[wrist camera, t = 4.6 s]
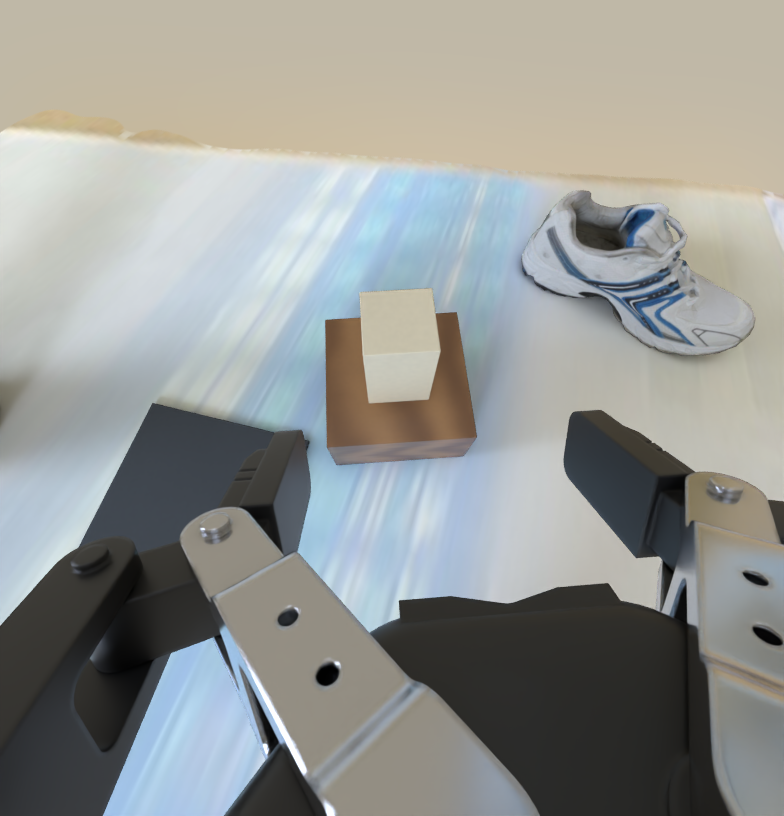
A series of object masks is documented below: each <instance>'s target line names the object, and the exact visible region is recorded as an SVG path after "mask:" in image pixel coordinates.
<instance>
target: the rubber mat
mask: <svg viewBox="0 0 784 816" xmlns="http://www.w3.org/2000/svg"><path fill="white" fill-rule="evenodd" d="M273 435H274V432H270V431H266V430H262V429H258V428H254V427H249V426H245V425H241V424H237V423H233V422H229V421H225V420H221V419H216V418H212V417H208V416H204V415H200V414H196V413H192V412H188V411H183V410H179V409H175V408H171V407H167V406H163V405H159V404H155V403H152V405H151V407H150V409H149V411H148V413H147V415H146V417H145V419H144V421H143V423H142V425H141V427H140V429H139V431H138V433H137V435H136V437H135V439H134V441H133V442H132V444H131V446H130V448H129V450H128V452H127V454H126V456H125V458H124V460H123V462H122V464H121V466H120V468H119V470H118V472H117V474H116V476H115V478H114V479H113V481H112V483H111V485H110V487H109V489H108V491H107V493H106V495H105V497H104V499H103V501H102V503H101V505H100V507H99V509H98V511H97V513H96V515H95V517H94V518H93V520H92V522H91V524H90V526H89V528H88V530H87V532H86V534H85V536H84V538H83V540H82V542H81V544H80V546H79V547H81V546H83V545H85V544H87V543H90V542H92V541H95V540H98V539H102V538H106V537H111V536H124V537H128V538H130V539H132V541H133V542H134V544H135V546H136V549H137V551H138V553H139V552H142V551H146V550H149V549H153V548H156V547H160V546H163V545H167V544H170V543H173V542H177V541H179V540H180V535H181V532H182V531H183V529H184V528H185V527H186V526H187V525H188V524H189V523H190V522H191V521H192V520H194V519H195V518H197V517H198V516H200V515H202V514H204V513H206V512H208V511H211V510H214V509H217V507H218V506H219V504H220V502H221V500H222V499H223V497H224V495H225V493H226V492H227V490H228V488H229V486H230V485H231V483H232V481H234V478H235V476H236V474H237V472H239V469H240V467H241V465H242V463H243V462H244V460H245V459H246V458H247V457H248V456H250V455H251V454H252V453H253V452H255V451H256V450H257V449H267V447H268V445H269V443H270V441H271V439H272V437H273ZM308 444H309V441H307V440H305V447H306V450H307V447H308Z"/></svg>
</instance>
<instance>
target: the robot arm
mask: <svg viewBox="0 0 784 816" xmlns="http://www.w3.org/2000/svg"><path fill="white" fill-rule="evenodd" d="M564 468H565V472H566V474H567V476H568V478H569V479H570V480H571V482H572V483H573V484H574V485H575V486H576V488H577V489H578V490H579V491H580V492H581V493H582V495H583V496H584V497H585V498H586V499H587V501H588V502H589V503H590V504H591V505H592V506H593V508H594V509H595V510H596V511H597V512H598V514H599V515H600V516H601V517H602V518H603V519H604V521H605V522H606V523H607V524H608V525H609V527H610V528H611V529H612V530H613V531H614V532H615V534H616V535H617V536H618V537H619V538H620V540H621V541H622V542H623V543H624V544H625V545H626V547H627V548H628V549H629V550H630V551H631V553H632V554H633V555H634V556H635V557H636V558H644V557H656V556H659V557H660V558H661V559H662V561H661V564H660V567H659V571H658V584H657V599H656V610H654V609H651V608H648V607H645V606H642V605H638V604H634V603H629V602H624V601H620V599H619V598H618V597H617V595H616V594H615V592H614V591H613V589H612V588H611V587H610V585H609V584H608V583H605V584H593V585H580V586H568V587H557V588H554V589H551V590H549V591H546V592H543V593H540V594H537V595H534V596H531V597H528V598H525V599H523V600H520V601H517V602H514V603H508V604H506V603H497V602H490V601H482V600H475V599H468V598H460V597H453V596H448V597H436V598H424V599H412V600H400V601H399V610H400V618H399V619H396V620H393V621H391V622H388V623H386V624H384V625H382V626H380V627H378V628H377V629H375V630H373V631H372V632H370V633H369V632H368V631H367V630H366V629H365V628H364V626H363V625H362V624H361V623H360V622H359V621H358V620H357V618H356V617H355V616H354V615H353V614H352V613H351V612H350V611H349V609H348V608H347V607H346V606H345V605H344V604H343V603H342V602H341V600H340V599H339V598H338V597H337V596H336V595H335V594H334V593H333V591H332V590H331V589H330V588H329V587H328V586H327V585H326V583H325V582H324V581H323V580H322V579H321V578H320V577H319V576H318V574H317V573H316V572H315V571H314V570H313V569H312V568H311V567H310V565H309V564H308V563H307V562H306V561H305V560H304V559H303V558H302V556H301V555H300V554H298V553H297V551H298V546H299V542H300V538H301V533H302V529H303V525H304V520H305V516H306V512H307V507H308V503H309V499H310V492H311V481H310V472H309V466H308V460H307V453H306V447H305V440H304V435H303V432H302V430H292V431H278V432H275V433H274V435H273V437H272V439H271V441H270V443H269V445H268V447H267V449H257V450H256V451H255V452H253V453H252V454H251V455H250V456H248V457H247V458H246V459H245V460H244V462H243V463H242V465H241V467H240V469H239V472H237V474H236V476H235V478H234V481H232V483H231V485H230V486H229V488H228V490H227V492H226V493H225V495H224V497H223V499H222V500H221V502H220V504H219V506H218V507H217V509H214V510H211V511H208V512H206V513H204V514H202V515H200V516H198V517H197V518H195V519H194V520H192V521H191V522H190V523H189V524H188V525H187V526H186V527H185V528H184V529H183V531H182V532H181V535H180V540H179V541H177V542H173V543H170V544H167V545H163V546H160V547H156V548H153V549H149V550H146V551H142V552H139V553H138V551H137V549H136V546H135V544H134V542H133V541H132V539H130V538H128V537H124V536H111V537H106V538H102V539H98V540H95V541H92V542H90V543H87V544H85V545H83V546H81V547H79V548H77V549H75V550H74V551H72V552H70V553H69V554H67V555H66V556H64V557H63V558H62V559H61V560H60V561H58V562H57V563H56V564H55V565H54V566H53V568H52V569H51V570H50V571H49V572H48V573H47V574H46V575H45V576H44V578H43V579H42V580H41V581H40V582H39V583H38V584H37V585H36V587H35V588H34V589H33V590H32V591H31V592H30V593H29V594H28V595H27V597H26V598H25V599H24V600H23V601H22V602H21V603H20V604H19V606H18V607H17V608H16V609H15V610H14V611H13V612H12V613H11V614H10V616H9V617H8V618H7V619H6V620H5V621H4V622H3V623H2V625H1V626H0V816H103V814H104V811H105V809H106V807H107V804H108V802H109V800H110V797H111V795H112V792H113V790H114V788H115V785H116V783H117V780H118V778H119V776H120V773H121V771H122V769H123V766H124V764H125V761H126V759H127V757H128V754H129V752H130V749H131V747H132V745H133V742H134V740H135V738H136V735H137V733H138V730H139V728H140V726H141V723H142V721H143V718H144V716H145V714H146V711H147V709H148V707H149V704H150V702H151V699H152V697H153V695H154V692H155V690H156V687H157V685H158V683H159V680H160V678H161V676H162V673H163V671H164V668H165V666H166V664H167V661H168V659H169V656H170V654H171V653H172V652H175V651H178V650H180V649H183V648H186V647H189V646H191V645H194V644H197V643H199V642H202V641H205V640H207V639H210V638H213V641H214V643H215V645H216V647H217V649H218V652H219V654H220V656H221V658H222V660H223V662H224V665H225V667H226V669H227V671H228V673H229V676H230V678H231V680H232V682H233V684H234V686H235V689H236V691H237V693H238V695H239V697H240V699H241V702H242V704H243V706H244V709H245V711H246V713H247V716H248V718H249V721H250V724H251V726H252V729H253V731H254V734H255V736H256V739H257V741H258V744H259V746H260V748H261V751H262V753H263V755H264V757H265V760H266V761H265V762H264V763H263V765H262V766H261V767H260V769H259V770H258V771H257V773H256V774H255V775H254V777H253V778H252V779H251V781H250V782H249V783H248V785H247V786H246V787H245V789H244V790H243V791H242V793H241V794H240V795H239V796H238V798H237V799H236V800H235V802H234V803H233V804H232V806H231V807H230V808H229V810H228V811H227V812H226V814H225V815H224V816H784V502H783V501H774V500H767V498H766V496H765V495H764V493H763V492H762V491H760V490H759V489H758V488H756V487H755V486H753V485H751V484H749V483H747V482H745V481H743V480H741V479H738V478H735V477H732V476H729V475H725V474H720V473H714V472H695V471H693V470H692V469H690V468H689V467H688V466H686V465H685V464H683V463H682V462H680V461H679V460H678V459H676V458H675V457H673V456H672V455H671V454H669V453H668V452H666V451H663V450H662V448H661V447H659V446H658V445H656V444H655V443H652V441H651V440H649V439H648V438H646V437H645V436H644V435H642V434H641V433H639V432H637V431H635V430H633V429H630V428H628V427H625V426H623V425H622V424H620V423H619V422H617V421H616V420H615V419H613V418H612V417H611V416H609V415H608V414H606V413H605V412H604V411H602V410H592V411H577V412H573V413H572V414H571V416H570V419H569V425H568V432H567V439H566V446H565V452H564Z"/></svg>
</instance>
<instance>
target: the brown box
mask: <svg viewBox="0 0 784 816" xmlns="http://www.w3.org/2000/svg"><path fill="white" fill-rule="evenodd" d="M436 320H437V328H438V335H439V342H440V349H441V352H440V356H439V360H438V364H437V368H436V372H435V376H434V380H433V384H432V388H431V392H430V396H429V399H428V400H415V401H399V402H384V403H369V401H368V393H367V385H366V377H365V369H364V361H363V351H362V331H361V318H349V319H332V320H325V333H326V415H327V448H328V450H329V452H330V454H331V456H332V458H333V459H334V461H335V463H336V465H345V464H359V463H374V462H388V461H402V460H416V459H431V458H445V457H459V456H464V455H465V453H466V452H467V450H468V449H469V448H470V446H471V445H472V443H473V442H474V440H475V439H476V438H477V435H476V428H475V422H474V416H473V410H472V404H471V397H470V391H469V385H468V379H467V372H466V366H465V360H464V354H463V348H462V341H461V335H460V329H459V323H458V317H457V312H453V313H436Z"/></svg>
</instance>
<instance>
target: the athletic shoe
mask: <svg viewBox="0 0 784 816" xmlns="http://www.w3.org/2000/svg"><path fill="white" fill-rule="evenodd" d="M668 212H669V209H668V208H667V207H666V206H664V205H663V204H661V203H649V204H637V205H631V206H626V207H623V208H611V207H606V206H602V205H599V204H597V203H595V202H593V201H592V199H591V193H590V192H589V191H584V190H580V191H573V192H571V193H569V194H567V195H566V196H565V197H564V198H563V199H561V200H560V201H559V202H558V203H557V204H556V205H555V206H554V207H553V209H552V210H551V211H550V213H549V214H548V215H547V217H546V219H545V220H544V222H543V224H542V225H541V227H540V228H539V229H538V230H537V231H536V232H535V233H534V234H533V235H532V236H531V238H530V240H529V242H528V244H527V246H526V248H525V250H524V252H523V254H522V267H523V272H524V274H525V275H531V276H533V277H534V280H535V284H536V285H537V286H539V287H541V288H542V289H543V290H549V291H550V292H552V293H554V294H557V295H562V296H571V297H574V298H584V297H589V296H601V297H604V298H605V299H606V300H607V301H609V303H610V304H611V306H612V307H613V312H614V315H615V317H616V319H617V320H618V321H619V322H620V323H622V324H623V325H624V329H625V330H626V331H627V332H629V333H631V334H632V335H633V336H634V337H638V338H639V340H640V342H642V343H644V344H646V345H647V346H648V347H650V348H651V347H657V350H660V351H662V352H665V353H669V354H671V353H674V352H675V353H678V354H679V355H692V354H697V355H708V354H715V353H720V352H722V351H725V350H727V349H730V348H733V347H736V346H737V345H738V344H739V343H740V342H742V341H743V340H744V339H745V338H746V337H748V336H749V335H750V333H751V331H752V329H753V328H754V323H755V317H754V312H753V310H752V308H751V306H750V305H749V304H748V303H747V302H745V301H744V300H742V299H740V298H739V297H737V296H735V295H734V294H732V293H730V292H728V291H726V290H725V289H723V288H721V287H718V286H716V285H715V284H713V283H712V282H710V281H709V280H707V279H706V278H704V277H702V276H700V275H698V274H696V273H695V272H693V271H692V270H690V268H689V266H688V264H687V263H686V261H684V260H681V259H679V257H680V251H679V250H680V249H681V248H683V247H684V246H685V243H686V239H687V234H686V233H685V232H684V230H683V229H682V227H681V225H680V223H679V222H678V221H677V220H675V219H674V218H673V217H671V216H669V215H668ZM666 221H667V222H668V223H669V225H670V226H671V227H673V228H674V229H675V230H676V231H677V232H678V234H679V236H680V240H679V241H677V242H676V243H675V242H673V237H672V234H671V232H670V231H669V230H668V229H669V227H668V225H667V224H666Z"/></svg>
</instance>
